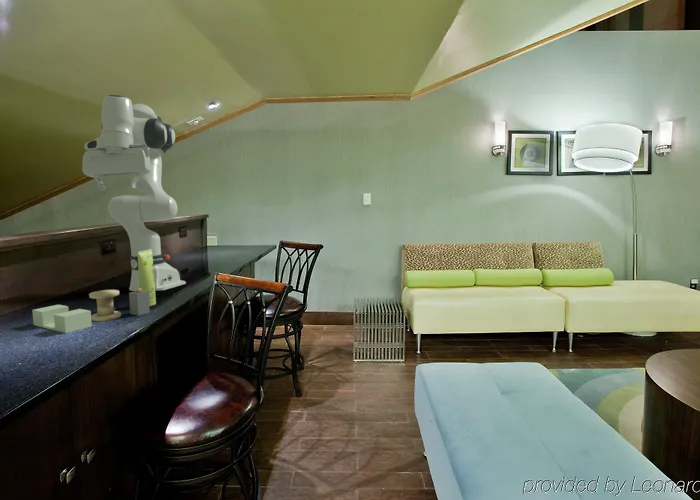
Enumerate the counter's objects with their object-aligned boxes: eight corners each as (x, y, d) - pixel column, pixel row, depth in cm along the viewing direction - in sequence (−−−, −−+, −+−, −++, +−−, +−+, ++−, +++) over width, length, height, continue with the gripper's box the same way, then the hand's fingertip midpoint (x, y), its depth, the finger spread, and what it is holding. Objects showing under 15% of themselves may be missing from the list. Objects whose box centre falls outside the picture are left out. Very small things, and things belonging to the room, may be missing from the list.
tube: (157, 305, 139) (154, 250, 137) (141, 308, 137) (137, 251, 134) (154, 302, 144) (151, 248, 142) (139, 304, 141) (135, 249, 139)
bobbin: (110, 312, 131) (109, 288, 130) (126, 315, 127) (124, 291, 126) (85, 319, 124) (83, 293, 123) (101, 322, 120) (99, 296, 119)
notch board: (59, 319, 124) (58, 304, 123) (91, 326, 116) (90, 310, 116) (33, 325, 117) (32, 309, 117) (65, 333, 110) (64, 316, 110)
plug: (141, 311, 133) (140, 286, 132) (149, 312, 131) (148, 288, 130) (130, 314, 129) (128, 289, 128) (138, 315, 128) (136, 290, 127)
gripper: (155, 147, 127) (154, 189, 126) (93, 151, 129) (92, 193, 127) (143, 139, 121) (143, 184, 120) (79, 144, 122) (78, 188, 121)
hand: (116, 189), depth 124 cm, fingers open, 8 cm apart
